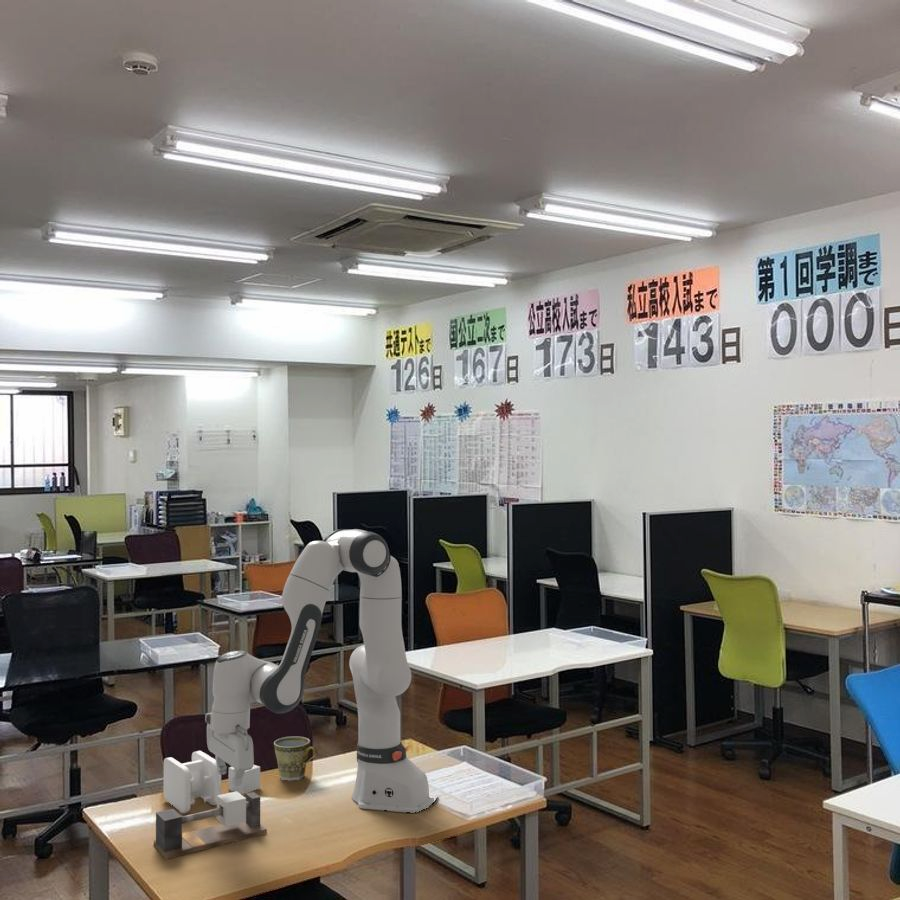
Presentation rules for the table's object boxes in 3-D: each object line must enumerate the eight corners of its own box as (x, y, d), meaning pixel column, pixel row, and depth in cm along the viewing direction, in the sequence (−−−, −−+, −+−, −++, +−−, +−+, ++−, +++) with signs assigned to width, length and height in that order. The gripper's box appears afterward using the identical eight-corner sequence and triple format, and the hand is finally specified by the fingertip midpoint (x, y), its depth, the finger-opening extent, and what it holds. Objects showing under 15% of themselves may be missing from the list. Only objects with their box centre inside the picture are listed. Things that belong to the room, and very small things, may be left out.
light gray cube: (242, 795, 244) (242, 772, 244) (228, 790, 247) (228, 767, 247) (260, 788, 248) (260, 766, 248) (246, 783, 252) (246, 762, 252)
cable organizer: (161, 800, 240) (161, 755, 240) (199, 790, 247) (199, 747, 247) (184, 817, 228) (184, 770, 228) (223, 807, 235) (223, 761, 235)
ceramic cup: (266, 780, 254) (266, 744, 254) (286, 769, 263) (286, 734, 264) (306, 787, 249) (306, 750, 249) (325, 775, 258) (325, 739, 258)
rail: (251, 821, 226) (251, 788, 226) (266, 833, 218) (266, 799, 219) (153, 845, 212) (153, 810, 212) (166, 858, 204) (166, 822, 205)
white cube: (236, 814, 222) (236, 791, 222) (245, 821, 217) (246, 798, 217) (216, 819, 219) (216, 795, 219) (225, 826, 214) (225, 802, 214)
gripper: (261, 729, 212) (259, 789, 211) (227, 709, 228) (225, 765, 228) (235, 733, 208) (233, 795, 208) (202, 713, 224) (201, 769, 224)
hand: (229, 779), depth 218 cm, fingers open, 8 cm apart
